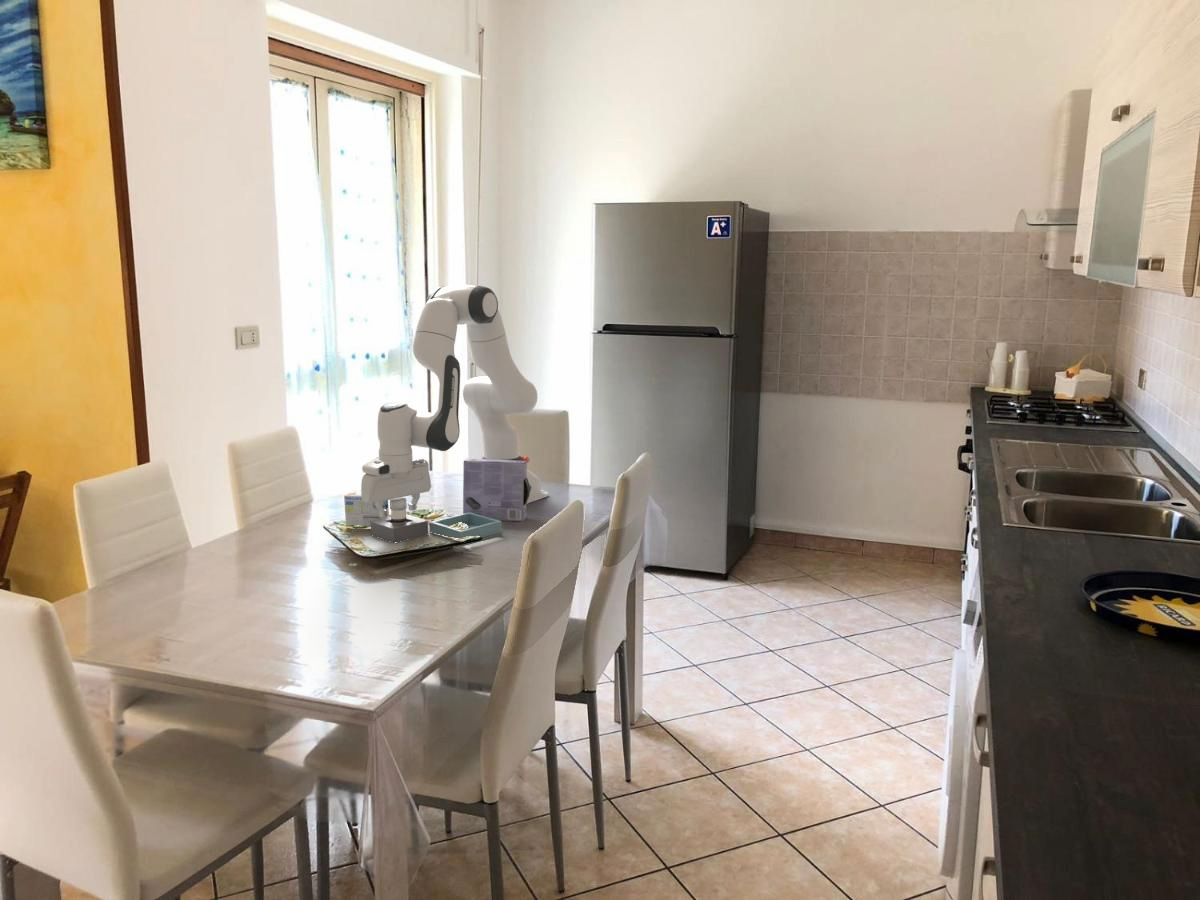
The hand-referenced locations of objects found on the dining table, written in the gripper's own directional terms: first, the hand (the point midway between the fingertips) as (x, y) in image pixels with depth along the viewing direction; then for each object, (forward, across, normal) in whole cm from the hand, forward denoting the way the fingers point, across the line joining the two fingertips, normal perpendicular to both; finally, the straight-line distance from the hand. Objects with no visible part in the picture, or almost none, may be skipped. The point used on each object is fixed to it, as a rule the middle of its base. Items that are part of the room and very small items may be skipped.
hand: (398, 513), depth 254 cm
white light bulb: (+6, 0, 0) cm, 6 cm away
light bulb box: (+7, +1, -14) cm, 16 cm away
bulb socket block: (+7, 0, 0) cm, 7 cm away
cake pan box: (+7, -31, +4) cm, 32 cm away
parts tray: (+7, -14, +11) cm, 19 cm away
